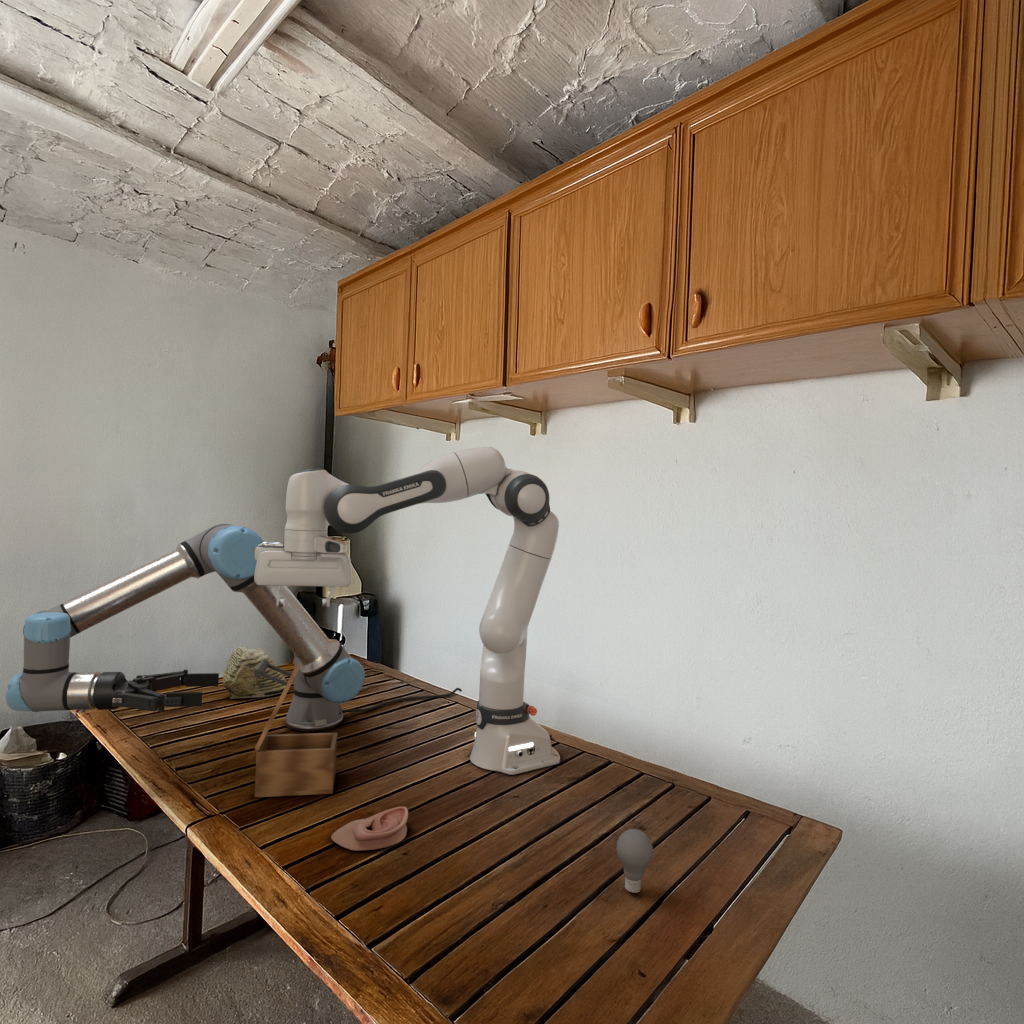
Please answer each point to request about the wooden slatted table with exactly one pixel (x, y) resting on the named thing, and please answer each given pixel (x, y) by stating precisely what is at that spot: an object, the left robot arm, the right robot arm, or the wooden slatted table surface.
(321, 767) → the chest
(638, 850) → the light bulb
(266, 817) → the wooden slatted table surface
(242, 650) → the fossil
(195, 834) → the wooden slatted table surface
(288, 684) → the lid
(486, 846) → the wooden slatted table surface
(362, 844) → the anatomical model
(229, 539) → the left robot arm
